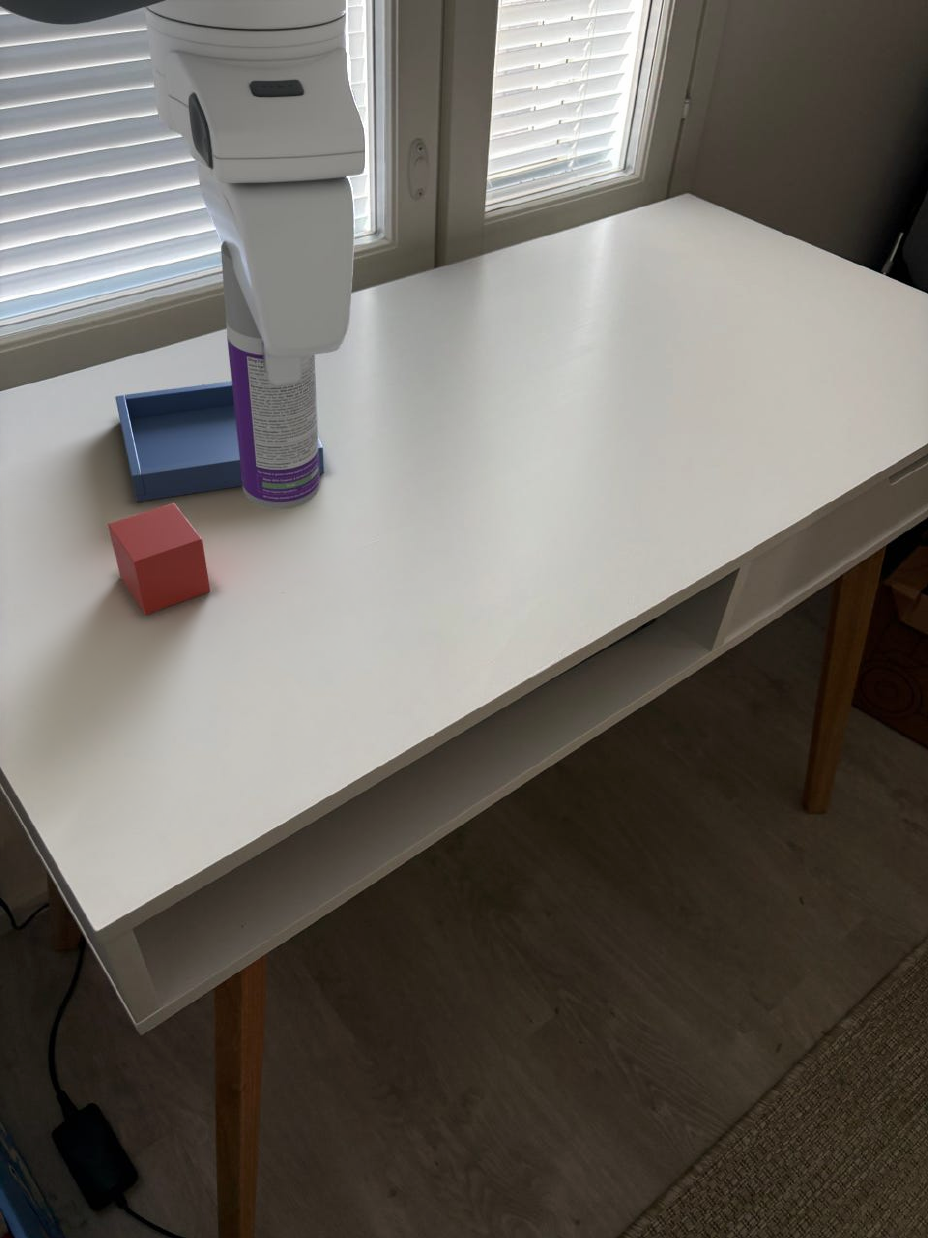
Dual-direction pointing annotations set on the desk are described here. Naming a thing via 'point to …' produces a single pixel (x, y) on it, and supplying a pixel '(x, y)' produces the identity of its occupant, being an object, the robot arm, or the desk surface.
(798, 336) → the desk surface
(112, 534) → the red block
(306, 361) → the container
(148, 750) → the desk surface
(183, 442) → the tray
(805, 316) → the desk surface
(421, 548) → the desk surface
